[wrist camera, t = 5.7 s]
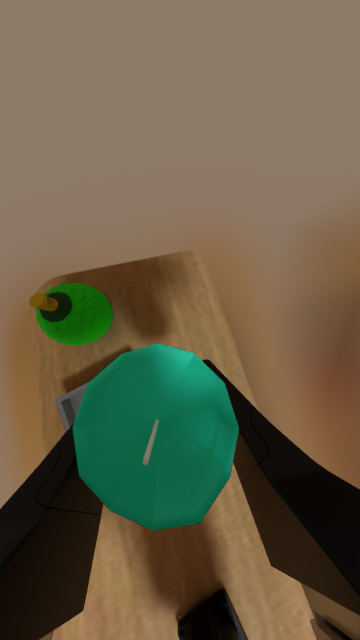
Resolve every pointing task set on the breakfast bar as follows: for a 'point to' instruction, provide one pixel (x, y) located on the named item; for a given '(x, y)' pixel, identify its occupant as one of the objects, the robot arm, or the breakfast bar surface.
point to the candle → (156, 437)
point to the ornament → (73, 313)
